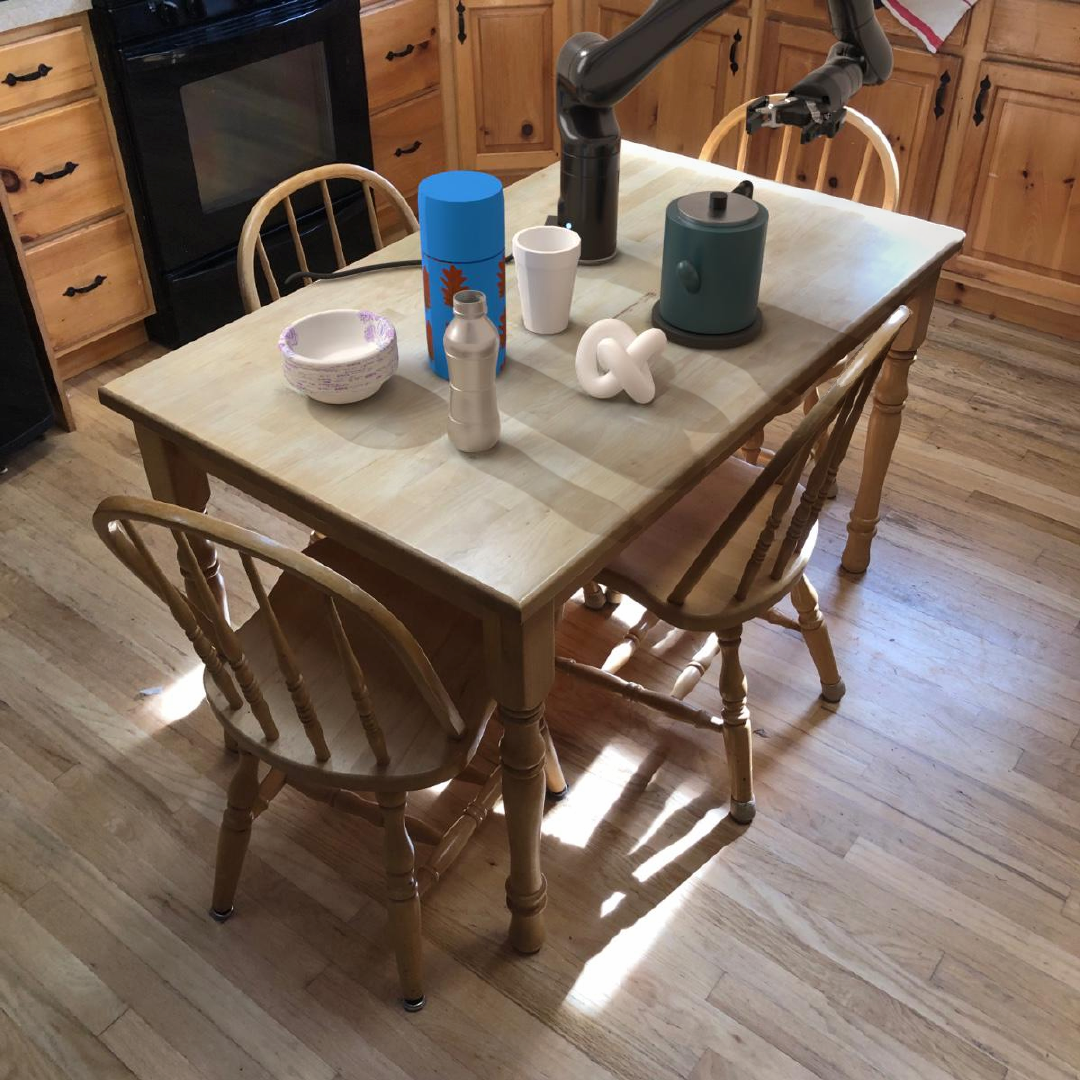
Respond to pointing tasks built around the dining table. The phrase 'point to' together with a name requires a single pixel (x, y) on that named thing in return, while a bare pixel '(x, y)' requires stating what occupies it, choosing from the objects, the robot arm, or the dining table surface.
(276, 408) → the dining table surface
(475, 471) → the dining table surface
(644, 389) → the white knot sculpture
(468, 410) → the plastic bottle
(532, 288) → the foam cup
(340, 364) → the paper bowls
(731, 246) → the kettle
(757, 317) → the kettle base
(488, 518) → the dining table surface
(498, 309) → the thermos
